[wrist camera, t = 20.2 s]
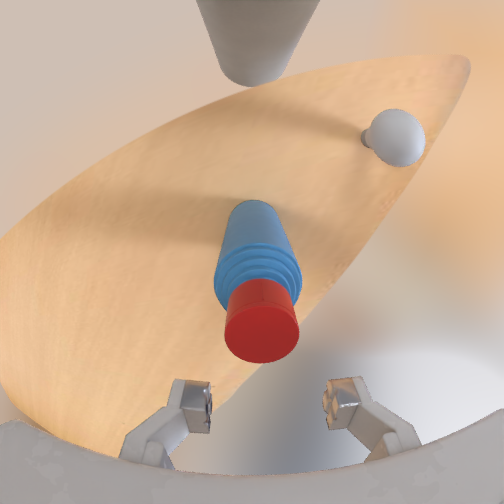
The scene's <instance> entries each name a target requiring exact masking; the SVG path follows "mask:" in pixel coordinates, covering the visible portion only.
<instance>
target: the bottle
mask: <svg viewBox="0 0 504 504" xmlns="http://www.w3.org/2000/svg"><path fill="white" fill-rule="evenodd" d="M252 279H269V280H273V281H275V282H277V283H279V284H281V285H282V286H283V287H284V288H285V289H286V290H287V291H288V293H289V295H290V297H291V300H292V304H293V306H294V305H295V303H296V301H297V299H298V297H299V295H300V292H301V288H302V274H301V270H300V267H299V265H298V262H297V260H296V258H295V255H294V253H293V251H292V248H291V246H290V243H289V241H288V239H287V236H286V234H285V232H284V229H283V227H282V225H281V222H280V220H279V218H278V216H277V213H276V212H275V210H274V209H273V208H272V207H271V206H270V205H268V204H267V203H265V202H262V201H259V200H249V201H245V202H243V203H241V204H239V205H238V206H237V207H236V208H235V209H234V210H233V211H232V213H231V215H230V217H229V221H228V224H227V228H226V232H225V236H224V240H223V243H222V247H221V251H220V255H219V259H218V263H217V267H216V271H215V276H214V289H215V293H216V296H217V298H218V300H219V301H220V303H221V305H222V306H223V308H224V309H225V310H226V311H227V307H228V301H229V298H230V295H231V294H232V292H233V291H234V290H235V289H236V288H237V287H238V286H239V285H240V284H242V283H244V282H246V281H249V280H252Z"/></svg>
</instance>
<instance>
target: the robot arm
mask: <svg viewBox="0 0 504 504" xmlns="http://www.w3.org/2000/svg"><path fill="white" fill-rule="evenodd" d="M326 386H327V390H326V391H325V392H324V395H323V408H324V411H325V412H326V413H327V414H328V415H327V418H326V421H327V424H328V428H329V430H335V429H344V428H347V429H348V430H349V431H350V432H351V433H352V434H353V435H354V436H355V437H356V438H357V439H358V440H359V441H360V442H361V443H363V445H365V446H366V447H367V448H368V449H369V450H370V451H371V453H370V454H369V455H368V457H367V458H366V459H365V461H364V463H360V464H356V465H351V466H346V467H341V468H334V469H328V470H321V471H313V472H305V473H295V474H280V475H219V474H206V473H195V472H186V471H179V470H175V468H174V466H173V464H172V462H171V460H170V458H169V455H170V454H171V452H173V450H175V449H176V447H177V446H178V445H179V444H180V443H181V442H182V441H183V440H184V439H185V438H186V437H187V436H188V435H189V432H190V433H206V434H209V431H210V415H211V413H212V394H211V393H210V390H211V385H210V382H203V381H193V380H182V379H175V380H174V381H173V384H172V388H171V391H170V395H169V399H168V402H167V406H166V407H162V408H161V409H159V410H158V411H157V412H156V413H154V414H153V415H152V416H150V417H149V418H148V419H147V420H145V421H144V422H143V423H141V424H140V425H139V426H137V427H136V428H135V429H133V430H132V431H131V432H129V433H128V434H127V435H126V437H125V440H124V443H123V446H122V449H121V452H120V455H119V458H116V457H112V456H109V455H105V454H102V453H99V452H96V451H93V450H90V449H87V448H84V447H81V446H78V445H76V444H73V443H70V442H68V441H65V440H63V439H60V438H58V437H56V436H53V435H51V434H49V433H46V432H44V431H42V430H40V429H38V428H36V427H34V426H32V425H30V424H28V423H26V422H24V421H22V420H19V419H15V420H11V421H9V422H6V423H4V424H1V425H0V504H504V409H499V410H497V411H495V412H493V413H491V414H490V415H488V416H486V417H484V418H483V419H480V420H479V421H477V422H475V423H473V424H471V425H469V426H467V427H465V428H463V429H461V430H459V431H456V432H454V433H452V434H450V435H447V436H445V437H443V438H440V439H438V440H435V441H433V442H430V443H428V444H425V445H421V442H420V440H419V438H418V436H417V433H416V431H415V429H414V427H413V425H411V424H410V423H408V422H407V421H405V420H403V419H402V418H400V417H399V416H397V415H396V414H394V413H393V412H391V411H390V410H388V409H387V408H385V407H384V406H382V405H380V404H379V403H378V402H373V400H372V398H371V396H370V393H369V391H368V389H367V386H366V384H365V382H364V380H363V378H362V377H361V376H358V377H351V378H340V379H331V380H328V382H327V385H326Z"/></svg>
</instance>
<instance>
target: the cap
mask: <svg viewBox="0 0 504 504" xmlns="http://www.w3.org/2000/svg"><path fill="white" fill-rule="evenodd" d="M298 339H299V327H298V323H297V319H296V315H295V312H294V308H293V304H292V300H291V297H290V295H289V293H288V291H287V290H286V289H285V288H284V287H283V286H282V285H281V284H279V283H277V282H275V281H273V280H269V279H252V280H249V281H246V282H244V283H242V284H240V285H239V286H238V287H237V288H236V289H235V290H234V291H233V292H232V294H231V295H230V298H229V301H228V307H227V316H226V325H225V342H226V344H227V346H228V348H229V350H230V351H231V352H232V353H233V354H234V355H235V356H237V357H238V358H240V359H242V360H245V361H247V362H252V363H269V362H274V361H276V360H279V359H281V358H283V357H285V356H286V355H287V354H289V353H290V352H291V351H292V350H293V349H294V347H295V346H296V344H297V342H298Z"/></svg>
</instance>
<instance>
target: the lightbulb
mask: <svg viewBox="0 0 504 504" xmlns="http://www.w3.org/2000/svg"><path fill="white" fill-rule="evenodd" d="M361 141H362V143H363V144H364V146H366V147H368V148H371V149H373V150H374V152H375V154H376V155H377V156H378V157H379V158H380V159H381V160H382V161H384V162H385V163H387V164H389V165H392V166H396V167H405V166H409V165H411V164H413V163H415V162H416V161H417V160H418V159H419V158H420V157H421V155H422V153H423V151H424V148H425V134H424V131H423V128H422V126H421V125H420V123H419V122H418V120H417V119H416V118H415V117H414V116H412V115H411V114H410V113H408V112H406V111H403V110H399V109H389V110H385V111H383V112H381V113H380V114H378V115H377V116H376V117H375V118H374V120H373V121H372V123H371V126H370V127H369V128H368V129H365V130H364V131H363V132H362V134H361Z"/></svg>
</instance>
